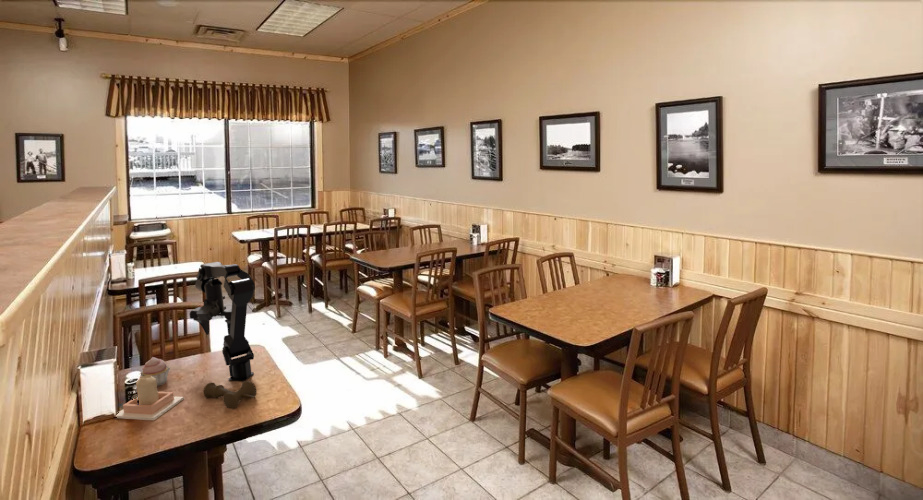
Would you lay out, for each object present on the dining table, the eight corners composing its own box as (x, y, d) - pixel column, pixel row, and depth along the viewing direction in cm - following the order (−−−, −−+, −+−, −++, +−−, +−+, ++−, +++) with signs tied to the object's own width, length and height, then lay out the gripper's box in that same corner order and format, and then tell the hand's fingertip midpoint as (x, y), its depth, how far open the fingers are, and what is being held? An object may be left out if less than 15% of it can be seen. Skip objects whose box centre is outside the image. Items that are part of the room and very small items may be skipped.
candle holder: (183, 399, 177) (182, 389, 176) (153, 420, 163) (152, 410, 163) (146, 396, 179) (144, 387, 178) (113, 417, 165) (112, 408, 165)
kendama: (220, 391, 183) (266, 398, 176) (198, 405, 174) (245, 413, 167) (217, 375, 182) (264, 382, 175) (195, 388, 173) (242, 395, 166)
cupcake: (161, 375, 196) (158, 350, 194) (177, 380, 191) (173, 354, 189) (136, 385, 188) (132, 359, 186) (151, 391, 183) (147, 364, 181)
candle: (150, 410, 168) (146, 381, 166) (135, 409, 169) (131, 379, 167) (163, 402, 173) (159, 373, 171) (148, 401, 174) (144, 372, 172)
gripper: (177, 301, 193) (182, 341, 196) (224, 302, 190) (229, 343, 193) (196, 292, 203) (201, 331, 206) (241, 293, 201) (245, 332, 204)
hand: (218, 334), depth 202 cm, fingers open, 9 cm apart
